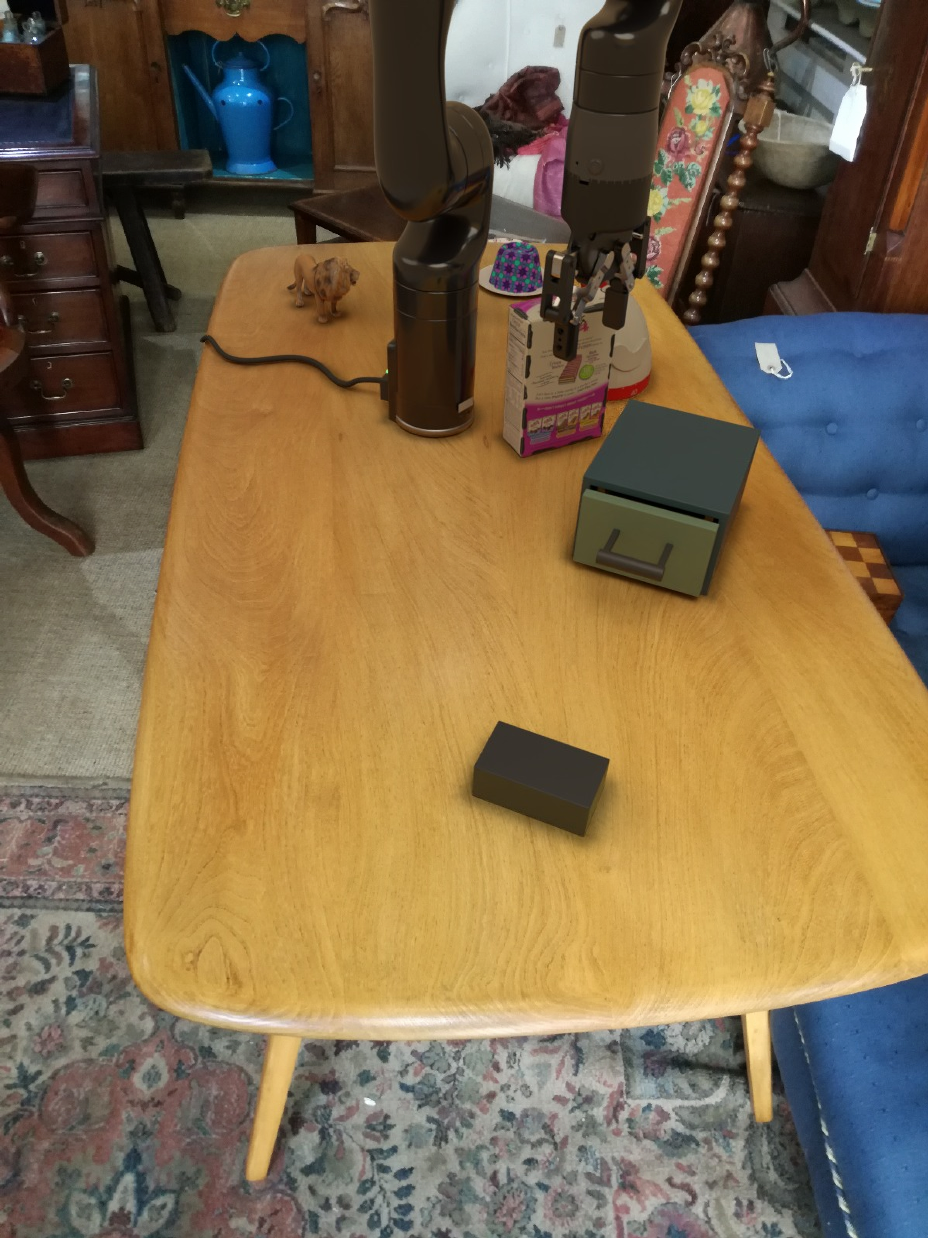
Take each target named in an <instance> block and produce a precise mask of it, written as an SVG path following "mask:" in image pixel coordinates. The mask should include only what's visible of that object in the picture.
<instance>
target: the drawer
mask: <svg viewBox="0 0 928 1238" xmlns="http://www.w3.org/2000/svg"><path fill="white" fill-rule="evenodd" d="M718 520H719V519H717V518H713V517H709V516H706V515H702V514H698V513H694V512H691V511H687V510H683V509H679V508H676V507H672V506H668V505H664V504H660V503H657V502H653V501H649V500H645V499H642V498H638V497H634V496H630V495H627V494H623V493H619V492H615V491H612V490H608V489H604V488H600V487H597V491H593V490H590V489H586V490H585V492H584V494H583V495H582V502H581V509H580V516H579V523H578V530H577V537H576V544H575V551H574V557H572V560H573V562H576V563H579V564H583V565H586V566H590V567H593V568H596V569H601V570H604V571H607V572H610V573H614V574H616V575H620V576H625V577H627V578H631V579H634V580H638V581H641V582H645V583H648V584H652V585H654V586H658V587H662V588H666V589H669V590H672V591H676V592H679V593H682V594H685V595H690V596H692V597H696V598H700V595H701V594H700V592H701V590H702V586H703V582H704V579H705V575H706V571H707V568H708V564H709V560H710V557H711V553H712V549H713V546H714V542H715V538H716V535H717V531H718V527H719V524H718Z"/></svg>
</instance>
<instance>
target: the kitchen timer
mask: <svg viewBox="0 0 928 1238" xmlns="http://www.w3.org/2000/svg"><path fill="white" fill-rule="evenodd" d="M579 285H580V287H581V288H584V287H586V286H587V285H584V284H581V283H579ZM608 287H609V285H607V283H606V281H605V282H604V283H603V284H602V285H601V286H599V288H601V289H602V291H605V290H606V288H608ZM610 287H611V286H610ZM652 367H653V353H652V344H651V337H650V332H649V328H648V323H647V320H646V316H645V314H644V312H643V310H642V308H641V305H640V304H639V302H638V300H637V299H636V298H635V297H634V296H633V294H632V293H631V292H629V297H628V304H627V311H626V318H625V325H624V327H623V328H621V329H620V330H616V333H615V342H614V349H613V356H612V363H611V369H610V377H609V385H608V394H607V401H618V400H623V399H628V398H629V399H630V398H632V397H633V396H636V395H638V394H640V393H641V392H643V391H644V390H645V389H646V388H647V387H648V385H649V381H650V378H651V373H652ZM607 401H606V402H607Z"/></svg>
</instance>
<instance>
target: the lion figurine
mask: <svg viewBox="0 0 928 1238" xmlns="http://www.w3.org/2000/svg"><path fill="white" fill-rule="evenodd" d="M293 275H294V282H293V283H292V284H290V285H288V286H286V289H287V290H289V291H292V290H294V289H295V306H296V307H298V308H300V307H303V306H305V302H304V300H303V299H302V287H303V292H304V294H305V295H306V296H310V295H313V294H314V298H315V303H316V309H317V314H318V317H317V318H318V319H317V321H318V323H320V324H326V323H328V319H327V318H328V316H327V314H326V310H325V302H329V303H330V307H329V309H330V310H329V311H330V314H331V316H332V317H335V318H339V317H340V316H342V312H341V311H340V310H338V308H337V307H338V302H340V301H341V300H342V299H343V296H347V294H348V293H349V292H350V291H351V287H355V286H357V281H359V278H360V275H361V272H360V271H359V270H356V269H355V268H353V267H352V266H351V265H350V264H348V259H347V257H344V256H342V255H341V256H334V257H330V258H329V259H325V260H324V261H319V262H318V263H317V262H316V259H315V257H314V256H313V255H311V254H308V253H304V252H303V253H301V254H299V255H298V256H297V257H296V258H295V260H294V265H293Z"/></svg>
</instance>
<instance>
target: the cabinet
mask: <svg viewBox="0 0 928 1238" xmlns="http://www.w3.org/2000/svg"><path fill="white" fill-rule="evenodd" d="M761 433H762V429H759V428H755V427H752V426H751V427H750V426H746V425H742V424H739V423H734V422H730V421H726V420H721V419H718V418H713V417H710V416H709V417H708V416H705V415H700V414H697V413H692V412H688V411H684V410H679V409H674V408H670V407H666V406H662V405H658V404H654V403H649V402H645V401H642V400H638V399H634V398H629V399H628V401H627V403H626V404H625V406H624V408H623V410H622V411H621V412H620V415H619V416H618V418H617V419H616V421H615V423H614V424H613V425H612V428H611V429H610V431H609V433H608V434H607V436H606V437H605V439H604V441H603V443H602V444H601V446H600V447H599V449H598V450H597V452H596V454H595V456H594V457H593V459H592V461H591V462H590V464H589V466H588V467H587V468H586V471H585V472H584V474H583V475H582V482H581V489H580V495H579V502H578V509H577V516H576V524H575V531H574V537H573V544H572V552H571V557H572V558H574V551H575V544H576V537H577V530H578V523H579V516H580V509H581V502H582V495H583V494H584V492H585V490H586V489H590V490H593V491H597V487H600V488H604V489H608V490H612V491H615V492H619V493H623V494H627V495H630V496H634V497H638V498H642V499H645V500H649V501H653V502H657V503H660V504H664V505H668V506H672V507H676V508H679V509H683V510H687V511H691V512H694V513H698V514H702V515H706V516H709V517H713V518H717V519H719V520H718V524H719V527H718V531H717V535H716V538H715V542H714V546H713V549H712V553H711V557H710V560H709V564H708V568H707V571H706V575H705V579H704V582H703V586H702V590H701V592H700V595H704V596H708V594H709V590H710V589H711V586H712V582H713V580H714V577H715V574H716V572H717V569H718V566H719V564H720V561H721V559H722V556H723V553H724V551H725V547H726V545H727V542H728V540H729V536H730V534H731V531H732V528H733V526H734V524H735V520H736V517H737V515H738V512H739V510H740V506H741V502H742V499H743V496H744V493H745V488H746V486H747V482H748V479H749V475H750V472H751V468H752V465H753V461H754V457H755V454H756V451H757V447H758V443H759V441H760V436H761Z"/></svg>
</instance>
